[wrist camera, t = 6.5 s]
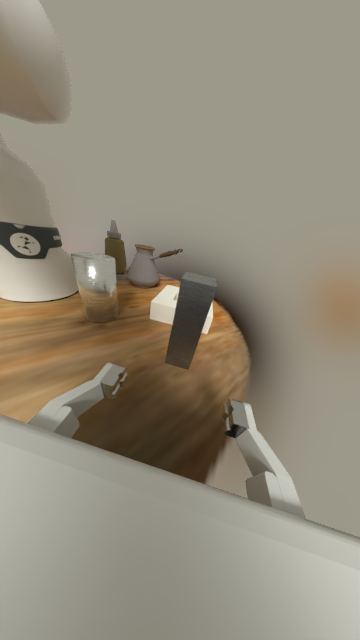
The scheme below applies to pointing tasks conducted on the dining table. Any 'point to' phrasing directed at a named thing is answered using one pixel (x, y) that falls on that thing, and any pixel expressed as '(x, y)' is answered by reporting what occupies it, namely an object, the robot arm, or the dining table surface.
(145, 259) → the coffee pot
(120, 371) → the robot arm
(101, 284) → the round bit
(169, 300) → the socket block
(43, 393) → the dining table surface
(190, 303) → the square bit
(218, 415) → the dining table surface
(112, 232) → the squeeze bottle
